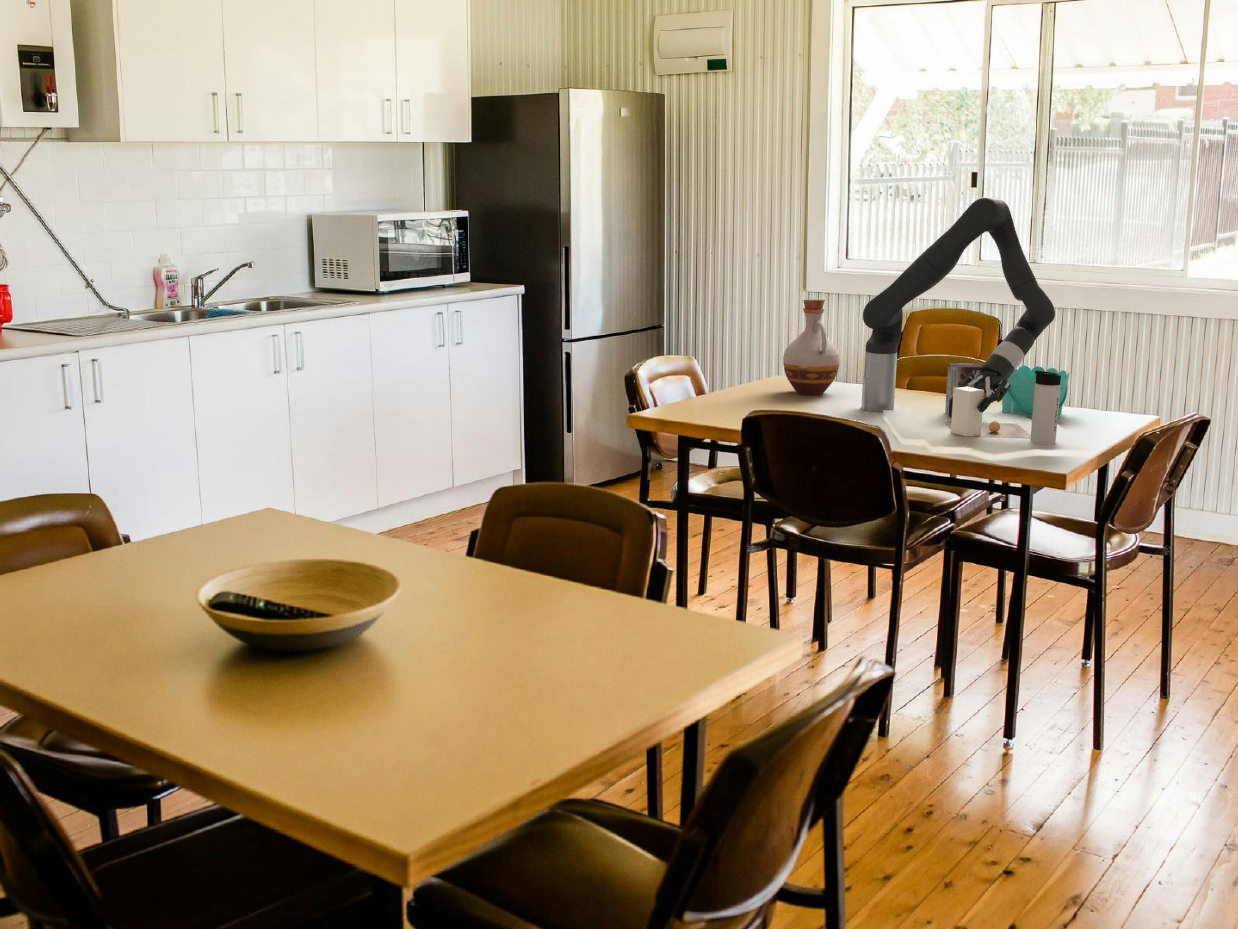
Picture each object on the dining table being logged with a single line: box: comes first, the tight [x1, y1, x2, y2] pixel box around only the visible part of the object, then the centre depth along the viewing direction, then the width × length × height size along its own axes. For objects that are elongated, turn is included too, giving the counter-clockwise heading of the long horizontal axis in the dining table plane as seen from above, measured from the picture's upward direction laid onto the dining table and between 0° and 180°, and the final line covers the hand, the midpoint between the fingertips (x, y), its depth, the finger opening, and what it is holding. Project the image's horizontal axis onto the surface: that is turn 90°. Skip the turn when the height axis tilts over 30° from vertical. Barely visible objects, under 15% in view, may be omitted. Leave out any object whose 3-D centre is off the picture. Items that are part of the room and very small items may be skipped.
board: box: [943, 421, 1031, 439], centre depth 351 cm, size 20×20×2 cm
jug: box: [782, 298, 841, 396], centre depth 409 cm, size 20×18×30 cm
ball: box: [989, 420, 1000, 432], centre depth 347 cm, size 3×3×3 cm
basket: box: [1001, 365, 1070, 419], centre depth 382 cm, size 19×18×13 cm
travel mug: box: [1029, 370, 1061, 445], centre depth 335 cm, size 6×7×20 cm
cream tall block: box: [950, 387, 985, 436], centre depth 344 cm, size 5×6×12 cm
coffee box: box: [944, 362, 983, 418], centre depth 370 cm, size 9×6×16 cm
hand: (968, 407), depth 344 cm, fingers open, 8 cm apart
